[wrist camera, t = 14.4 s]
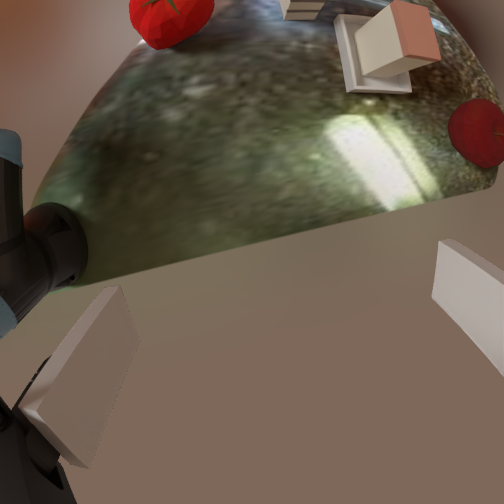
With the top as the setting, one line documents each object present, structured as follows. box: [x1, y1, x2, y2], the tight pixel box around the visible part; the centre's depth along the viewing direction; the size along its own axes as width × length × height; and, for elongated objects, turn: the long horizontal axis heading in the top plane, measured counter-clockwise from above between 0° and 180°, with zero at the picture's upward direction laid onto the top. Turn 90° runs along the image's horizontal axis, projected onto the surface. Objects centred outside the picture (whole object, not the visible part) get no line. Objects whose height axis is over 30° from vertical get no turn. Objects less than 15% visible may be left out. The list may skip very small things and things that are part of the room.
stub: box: [353, 0, 441, 78], centre depth 26 cm, size 4×7×14 cm, turn 8°
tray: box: [333, 14, 412, 94], centre depth 32 cm, size 10×12×3 cm
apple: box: [448, 99, 504, 168], centre depth 32 cm, size 11×11×12 cm
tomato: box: [129, 0, 215, 50], centre depth 26 cm, size 11×13×10 cm
